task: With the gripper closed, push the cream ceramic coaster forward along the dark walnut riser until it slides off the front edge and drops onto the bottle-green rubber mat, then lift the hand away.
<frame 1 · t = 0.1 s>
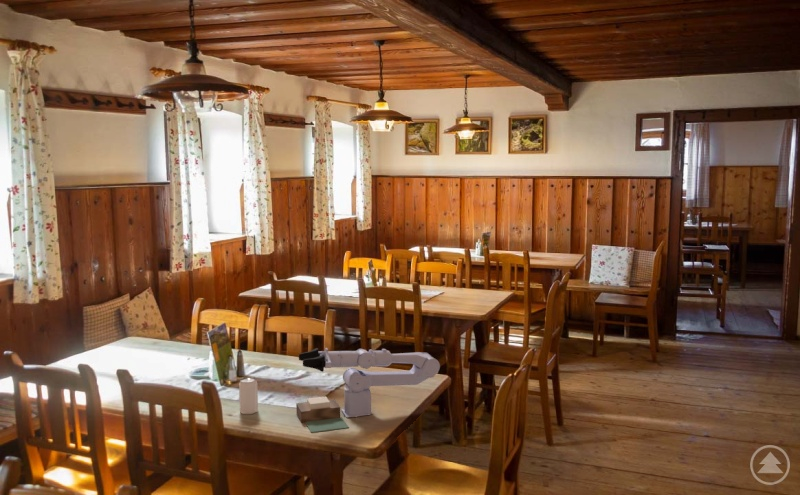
hand: (301, 359, 234), 22 cm above the table, tool horizontal, fingers open, 7 cm apart
mat: (326, 425, 231), on the table
can: (248, 412, 244), on the table
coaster: (318, 405, 238), point 4 cm above the table, touching riser
riser: (318, 415, 239), on the table
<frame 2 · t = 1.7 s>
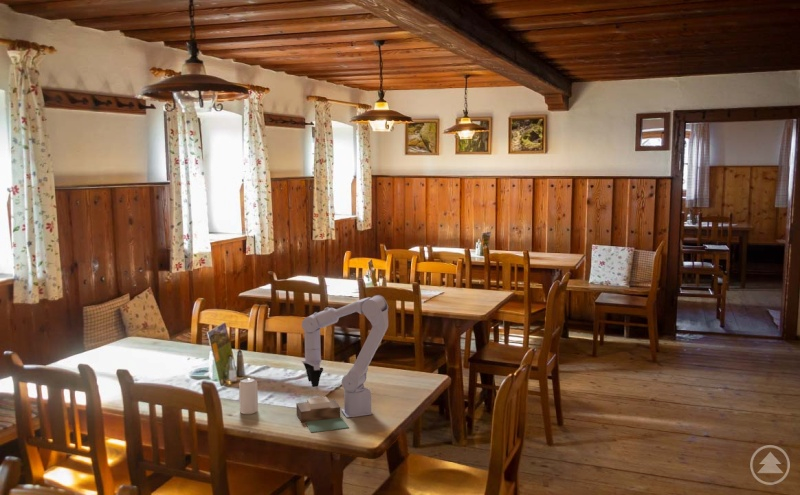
hand: (313, 383, 246), 9 cm above the table, tool pointing down, fingers open, 6 cm apart
nothing on the table moved.
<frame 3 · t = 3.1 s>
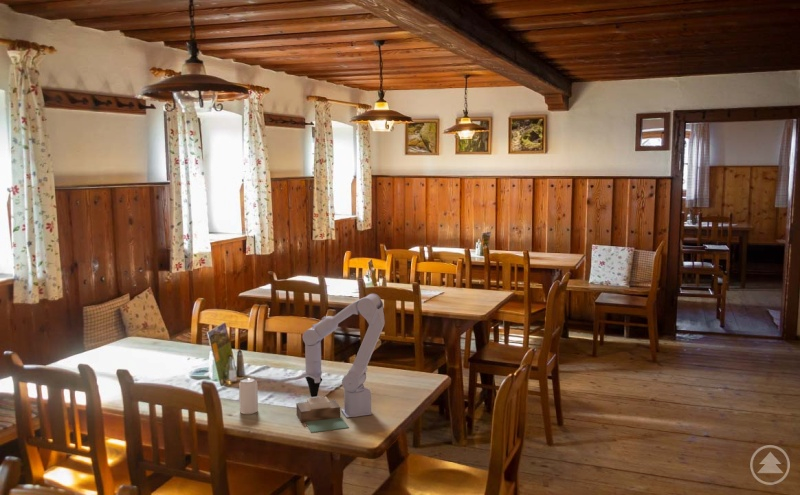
hand: (313, 396, 246), 5 cm above the table, tool pointing down, fingers closed
nothing on the table moved.
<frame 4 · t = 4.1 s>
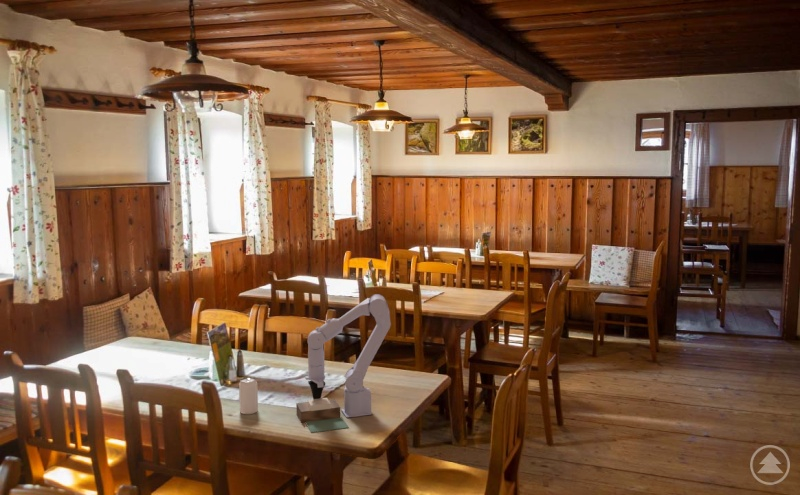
hand: (316, 400, 241), 5 cm above the table, tool pointing down, fingers closed
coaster: (319, 407, 237), point 4 cm above the table, touching gripper
everything else where it was.
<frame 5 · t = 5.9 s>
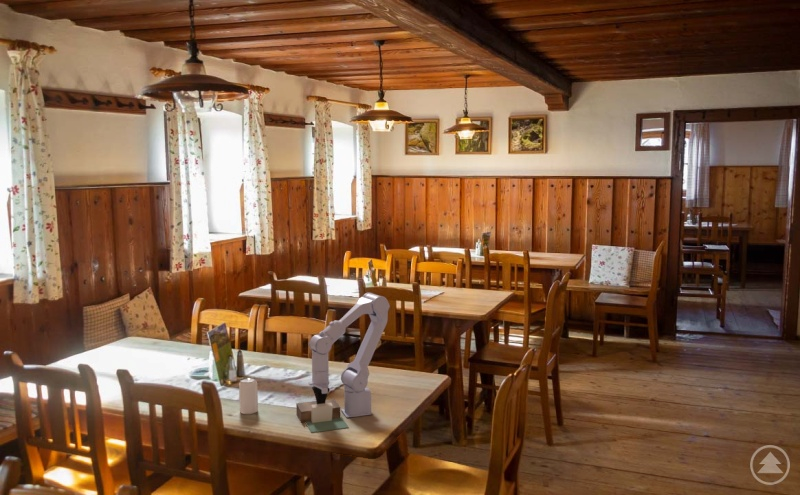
hand: (320, 407, 234), 5 cm above the table, tool pointing down, fingers closed
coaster: (321, 411, 234), point 4 cm above the table, tilted 102°, touching gripper, mat
everything else where it was.
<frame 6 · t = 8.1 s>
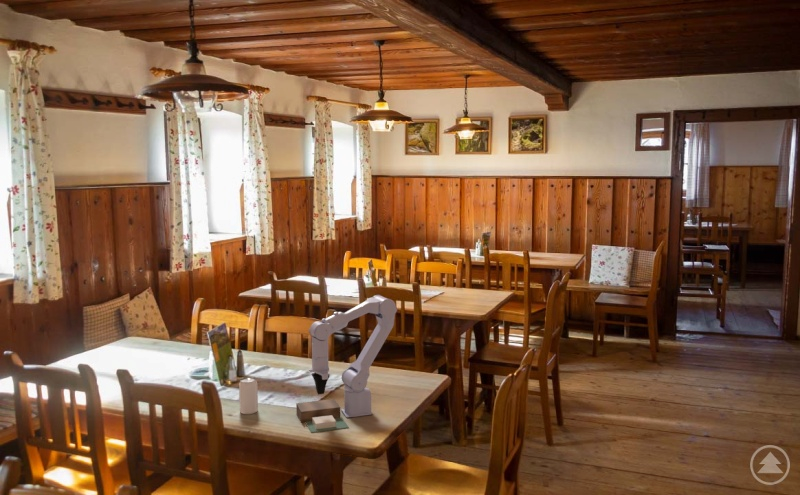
hand: (320, 393, 235), 9 cm above the table, tool pointing down, fingers closed
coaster: (323, 419, 230), point 2 cm above the table, tilted 180°, touching mat
everything else where it was.
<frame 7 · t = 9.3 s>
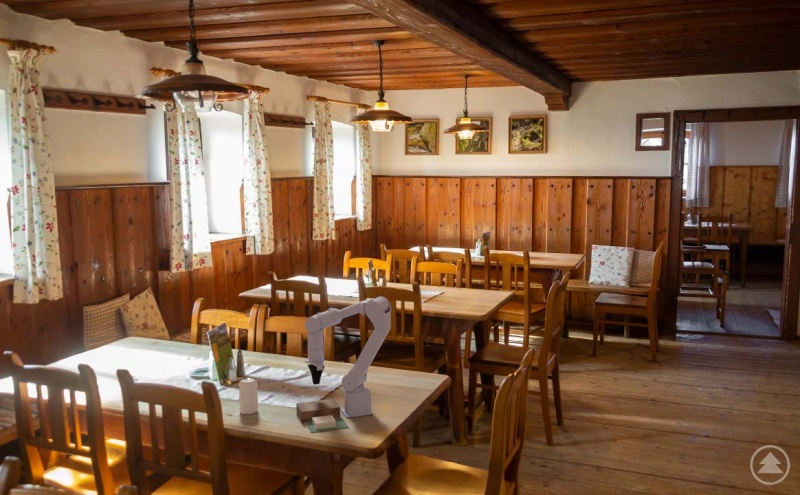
hand: (316, 383, 246), 9 cm above the table, tool pointing down, fingers closed
nothing on the table moved.
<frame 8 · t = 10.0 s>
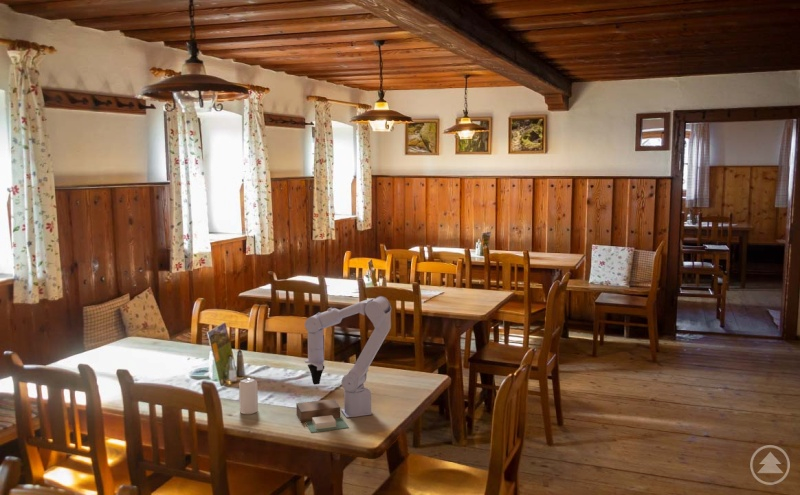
hand: (316, 383, 246), 9 cm above the table, tool pointing down, fingers closed
nothing on the table moved.
at the end: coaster point 2.3 cm above the table; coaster inside the target area on the mat (1.1 cm from its centre), point 2.3 cm above the mat's base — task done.
